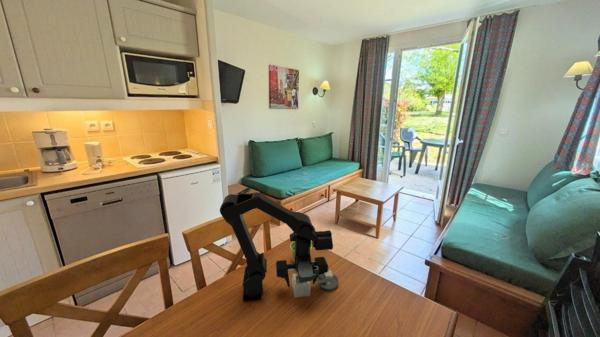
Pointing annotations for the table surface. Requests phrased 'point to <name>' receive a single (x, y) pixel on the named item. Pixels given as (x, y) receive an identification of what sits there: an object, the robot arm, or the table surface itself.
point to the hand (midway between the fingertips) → (301, 285)
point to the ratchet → (327, 281)
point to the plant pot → (294, 248)
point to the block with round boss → (300, 287)
